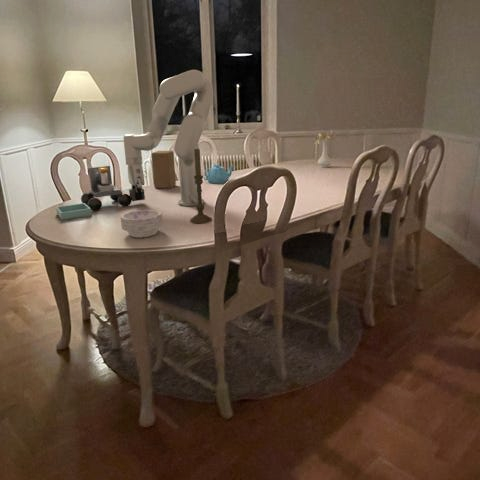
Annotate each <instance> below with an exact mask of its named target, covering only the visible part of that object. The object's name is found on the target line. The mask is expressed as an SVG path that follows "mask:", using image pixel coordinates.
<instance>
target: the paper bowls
mask: <svg viewBox="0 0 480 480" xmlns="http://www.w3.org/2000/svg"><path fill="white" fill-rule="evenodd" d="M163 220H164V219H163V213H162V212H161V211H160V210H155V209H154V210H153V209H143V210H133V211H128V212H126V213H123V214H121V215H120V223H121V229H122V230H123V231H125V232H127V233H128V235H129V236H131V237H133V238H137V239H139V238H141V239H143V237H144V238H149V237H153V236H155V235H156V234H158V230H159V229H160V228H161V229H162V227H163V225H164V223H163V222H164V221H163Z"/></svg>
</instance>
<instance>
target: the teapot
mask: <svg viewBox="0 0 480 480" xmlns="http://www.w3.org/2000/svg"><path fill="white" fill-rule="evenodd" d="M234 166H235V164H232V165H230V166H229V170H228V171H227V170H226V168H225V167H224V166H220V164H216V163H215V162H213V166H212V167H211V168H206V169H204V175H205V176H203V179H204V181H208V182H209V184H224V183H225V184H226V183H228V181H229V179H230V177H231V176H232V173H233V167H234Z"/></svg>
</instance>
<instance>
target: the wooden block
mask: <svg viewBox="0 0 480 480" xmlns="http://www.w3.org/2000/svg"><path fill="white" fill-rule="evenodd" d="M174 153H175V152H174V151H173V150H157V151H153V152H151V154H150V155H151V156H150V157H151V163H152V167H151V168H152V178H153V186H154V188H155V189H171V188H173V187H175V186H176V184H177V183H176V182H177V181H176V170H175V157H174V156H175V155H174Z"/></svg>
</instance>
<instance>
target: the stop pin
mask: <svg viewBox="0 0 480 480" xmlns="http://www.w3.org/2000/svg"><path fill="white" fill-rule="evenodd" d="M107 171H108V168H99V172H100V174H101V182H102V186H107V185H109V184H108V176H107Z"/></svg>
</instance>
